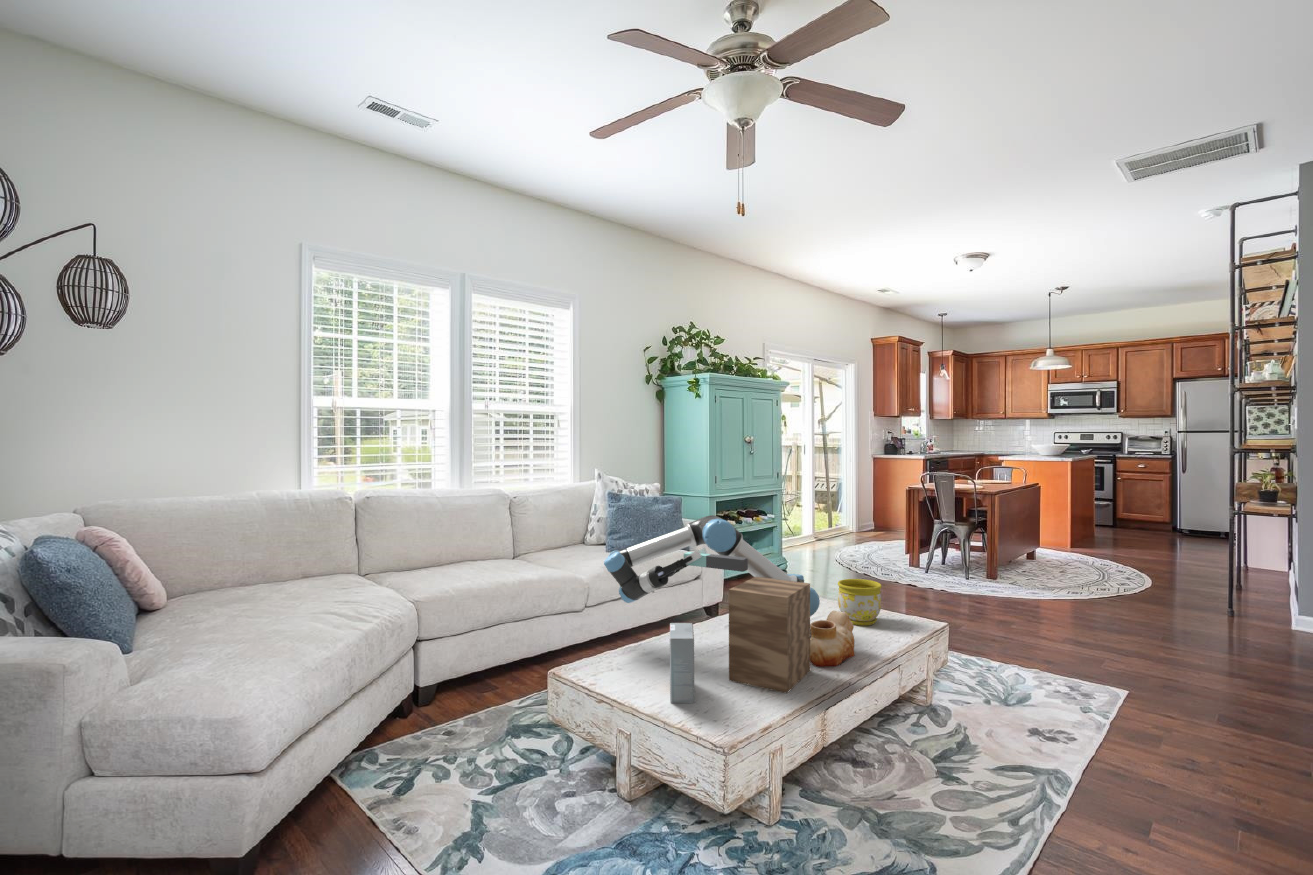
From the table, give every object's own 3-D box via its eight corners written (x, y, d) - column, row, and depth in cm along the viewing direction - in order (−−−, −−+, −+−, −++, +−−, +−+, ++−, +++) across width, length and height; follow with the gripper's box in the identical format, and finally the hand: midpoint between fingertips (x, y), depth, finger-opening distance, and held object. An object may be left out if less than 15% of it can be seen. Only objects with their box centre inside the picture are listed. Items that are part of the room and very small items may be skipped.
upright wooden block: (755, 660, 233) (755, 576, 232) (810, 670, 222) (810, 583, 222) (728, 680, 214) (728, 589, 214) (787, 693, 203) (786, 597, 203)
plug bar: (683, 564, 232) (683, 553, 232) (689, 562, 235) (689, 551, 235) (743, 571, 220) (742, 559, 220) (747, 569, 223) (747, 557, 223)
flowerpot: (831, 616, 287) (831, 579, 287) (870, 614, 289) (870, 578, 289) (847, 628, 269) (847, 589, 269) (889, 626, 271) (889, 587, 271)
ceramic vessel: (863, 651, 242) (863, 611, 241) (834, 672, 221) (834, 628, 221) (828, 644, 250) (828, 605, 250) (797, 663, 230) (797, 620, 230)
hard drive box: (670, 683, 212) (670, 622, 212) (693, 683, 212) (693, 622, 211) (669, 703, 196) (669, 637, 196) (695, 703, 196) (694, 637, 196)
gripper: (670, 583, 247) (718, 558, 236) (646, 593, 232) (696, 566, 222) (662, 565, 249) (709, 539, 238) (637, 573, 234) (686, 546, 224)
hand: (702, 552), depth 230 cm, fingers closed on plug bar, 4 cm apart
